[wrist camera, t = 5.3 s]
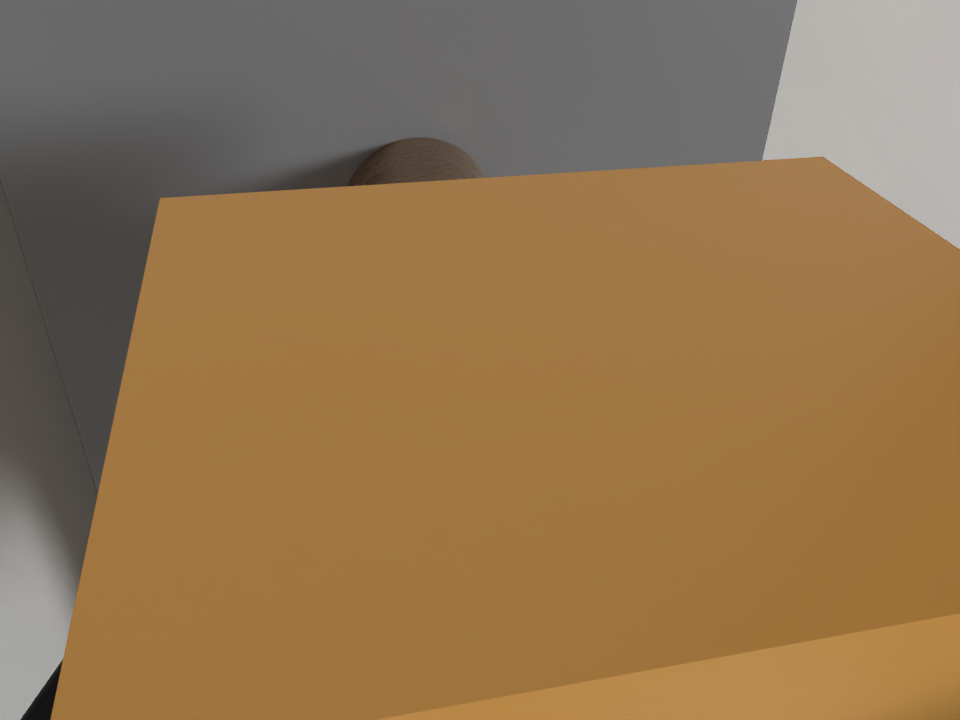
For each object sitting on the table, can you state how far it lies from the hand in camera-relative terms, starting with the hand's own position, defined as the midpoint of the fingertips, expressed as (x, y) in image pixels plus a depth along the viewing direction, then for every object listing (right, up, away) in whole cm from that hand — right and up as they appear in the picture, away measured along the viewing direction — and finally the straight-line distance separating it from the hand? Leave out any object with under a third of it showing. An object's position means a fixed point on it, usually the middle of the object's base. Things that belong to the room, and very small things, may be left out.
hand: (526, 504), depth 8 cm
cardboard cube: (0, +1, +1) cm, 1 cm away
